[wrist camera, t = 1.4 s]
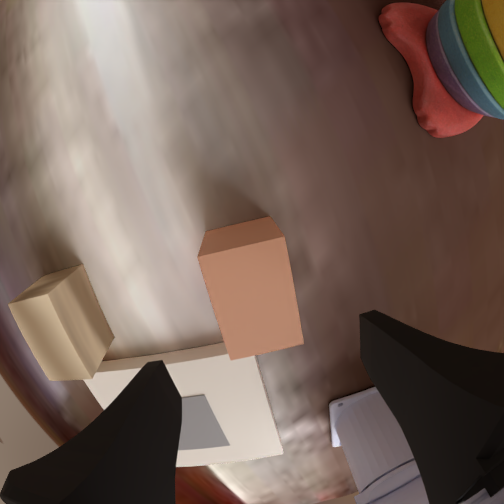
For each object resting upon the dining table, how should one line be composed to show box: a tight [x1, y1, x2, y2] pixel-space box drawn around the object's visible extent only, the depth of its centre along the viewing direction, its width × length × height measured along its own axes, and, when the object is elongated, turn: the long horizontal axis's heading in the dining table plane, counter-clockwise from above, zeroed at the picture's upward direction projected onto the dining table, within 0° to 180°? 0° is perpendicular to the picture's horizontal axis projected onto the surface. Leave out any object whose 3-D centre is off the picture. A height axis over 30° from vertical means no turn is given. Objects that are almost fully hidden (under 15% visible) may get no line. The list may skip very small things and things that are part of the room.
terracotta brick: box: [198, 216, 304, 360], centre depth 16 cm, size 4×6×5 cm, turn 13°
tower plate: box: [83, 342, 284, 467], centre depth 22 cm, size 14×14×2 cm
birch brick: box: [8, 264, 114, 381], centre depth 16 cm, size 4×6×5 cm, turn 13°
